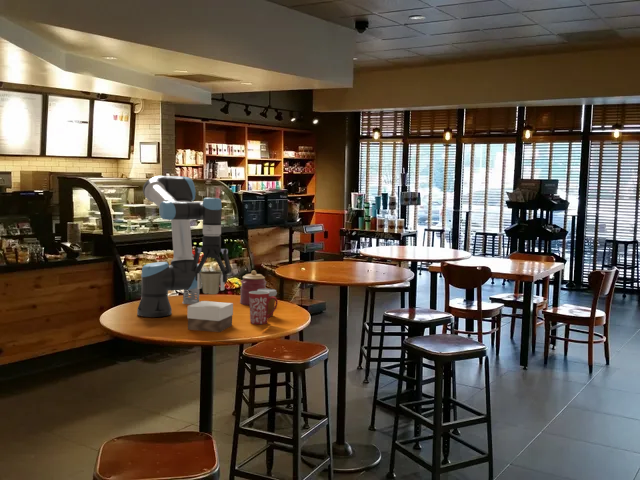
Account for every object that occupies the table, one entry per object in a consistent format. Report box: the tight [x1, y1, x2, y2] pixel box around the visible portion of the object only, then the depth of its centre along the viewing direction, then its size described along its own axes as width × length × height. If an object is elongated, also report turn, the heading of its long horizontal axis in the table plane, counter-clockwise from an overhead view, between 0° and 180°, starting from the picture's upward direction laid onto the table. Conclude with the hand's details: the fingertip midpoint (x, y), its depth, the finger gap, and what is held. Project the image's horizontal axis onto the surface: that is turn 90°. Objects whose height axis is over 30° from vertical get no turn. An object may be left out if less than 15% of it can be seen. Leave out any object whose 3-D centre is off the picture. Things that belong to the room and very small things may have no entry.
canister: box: [239, 269, 267, 306], centre depth 319 cm, size 13×13×18 cm
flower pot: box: [200, 270, 223, 295], centre depth 263 cm, size 9×9×9 cm
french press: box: [178, 253, 200, 305], centre depth 318 cm, size 10×12×25 cm
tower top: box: [186, 300, 234, 321], centre depth 264 cm, size 14×14×5 cm
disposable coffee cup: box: [257, 288, 278, 318], centre depth 292 cm, size 10×10×12 cm
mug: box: [249, 291, 278, 325], centre depth 276 cm, size 13×9×14 cm
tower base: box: [187, 315, 233, 333], centre depth 265 cm, size 14×14×5 cm
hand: (210, 289), depth 263 cm, fingers closed on flower pot, 9 cm apart
